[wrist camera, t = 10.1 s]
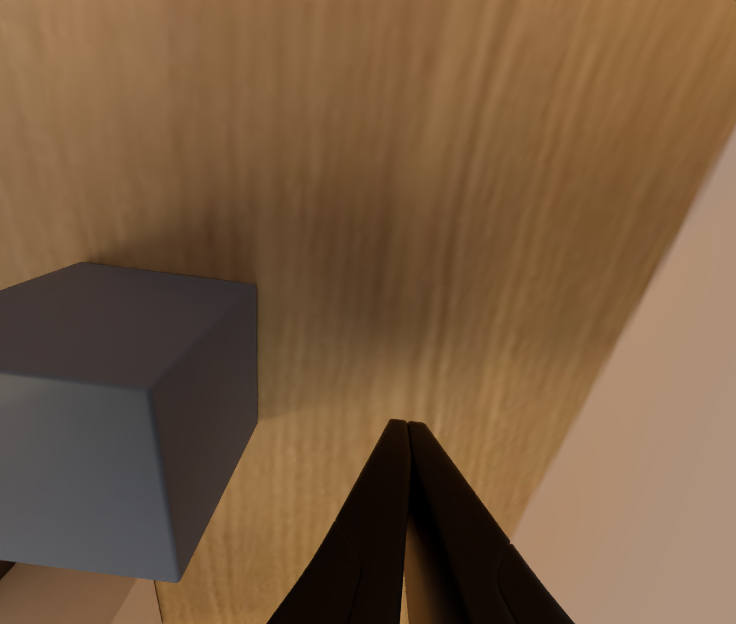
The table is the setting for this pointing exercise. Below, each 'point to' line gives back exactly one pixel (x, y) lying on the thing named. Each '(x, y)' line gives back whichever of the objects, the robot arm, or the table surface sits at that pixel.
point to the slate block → (121, 415)
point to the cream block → (75, 597)
